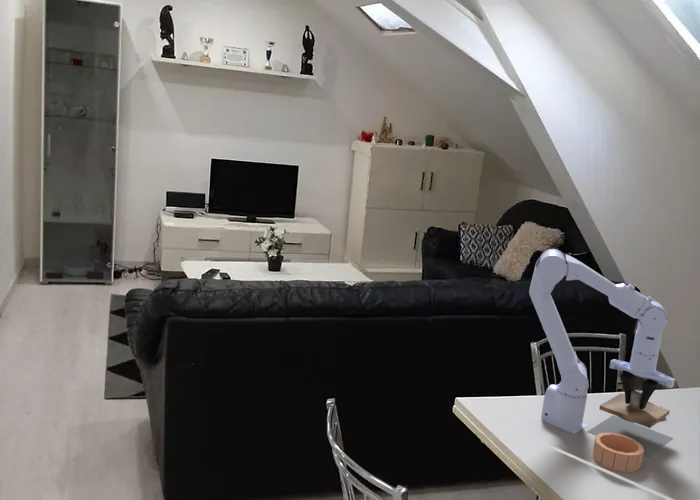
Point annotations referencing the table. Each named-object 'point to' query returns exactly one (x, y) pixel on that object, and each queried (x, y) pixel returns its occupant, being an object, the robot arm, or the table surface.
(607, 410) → the cover board
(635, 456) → the bowl
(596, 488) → the table surface
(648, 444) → the mat
